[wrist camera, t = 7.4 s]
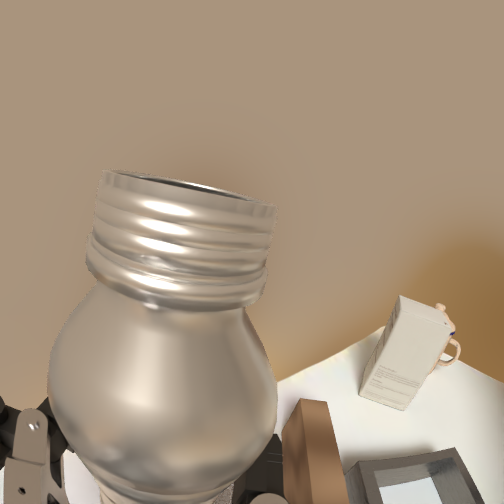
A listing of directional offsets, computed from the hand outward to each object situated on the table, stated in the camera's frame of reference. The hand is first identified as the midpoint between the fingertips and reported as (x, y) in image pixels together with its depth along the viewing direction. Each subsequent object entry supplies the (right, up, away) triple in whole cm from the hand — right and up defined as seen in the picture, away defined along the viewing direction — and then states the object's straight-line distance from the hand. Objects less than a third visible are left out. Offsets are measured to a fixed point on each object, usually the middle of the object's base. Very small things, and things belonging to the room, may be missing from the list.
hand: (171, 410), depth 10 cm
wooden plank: (+7, -13, 0) cm, 15 cm away
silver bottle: (-3, -11, 0) cm, 11 cm away
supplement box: (+21, -13, +21) cm, 32 cm away
